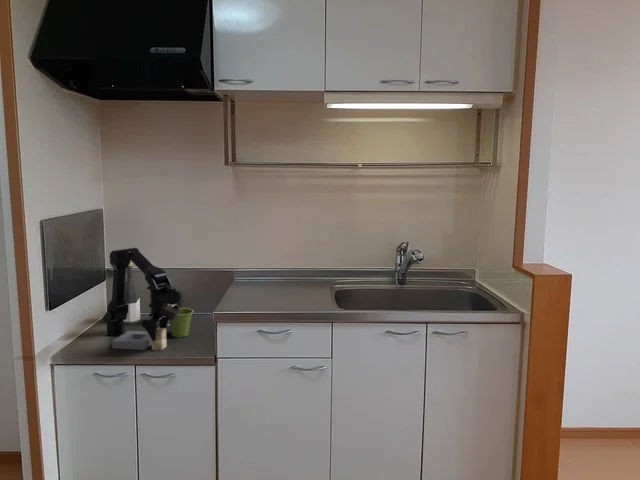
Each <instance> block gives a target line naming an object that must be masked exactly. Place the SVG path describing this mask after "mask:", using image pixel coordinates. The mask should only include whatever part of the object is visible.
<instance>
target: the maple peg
mask: <svg viewBox="0 0 640 480" xmlns="http://www.w3.org/2000/svg"><path fill="white" fill-rule="evenodd" d="M167 346H168V345H167V327H166V328H160V327H158V328H157V332H156V340H155V341H152V345H151V350H152V351H153V350H154V351H163V350H165V348H166V347H167Z"/></svg>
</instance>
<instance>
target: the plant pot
mask: <svg viewBox="0 0 640 480" xmlns="http://www.w3.org/2000/svg"><path fill="white" fill-rule="evenodd" d="M179 310H180V313H179V314H178V317H177V318H176V319H175V320H171V319H169V322H170V332H171V336H172V337H173V338H183V337H187V336H189V334H190V327H191V319H192V316H193V313H194V309H191V308H188V307H187V308H185V307H181V308H180V307H179Z"/></svg>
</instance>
